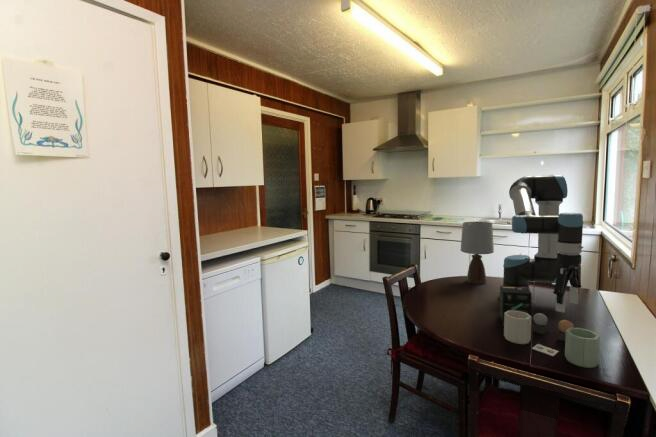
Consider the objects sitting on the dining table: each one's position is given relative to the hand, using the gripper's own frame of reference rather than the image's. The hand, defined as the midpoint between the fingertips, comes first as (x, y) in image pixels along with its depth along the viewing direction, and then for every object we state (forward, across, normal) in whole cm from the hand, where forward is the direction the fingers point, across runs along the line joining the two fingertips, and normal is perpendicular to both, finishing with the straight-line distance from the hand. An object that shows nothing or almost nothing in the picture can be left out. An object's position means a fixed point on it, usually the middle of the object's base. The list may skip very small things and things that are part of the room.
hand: (566, 307), depth 126 cm
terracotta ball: (+10, 0, 0) cm, 11 cm away
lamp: (+12, +44, +62) cm, 77 cm away
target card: (+13, -15, +2) cm, 20 cm away
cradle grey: (+13, 0, +9) cm, 16 cm away
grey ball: (+10, 0, +9) cm, 14 cm away
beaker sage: (+13, -13, -9) cm, 21 cm away
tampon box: (+13, +4, +21) cm, 25 cm away
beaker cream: (+13, -13, +12) cm, 22 cm away
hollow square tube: (+13, 0, 0) cm, 13 cm away
